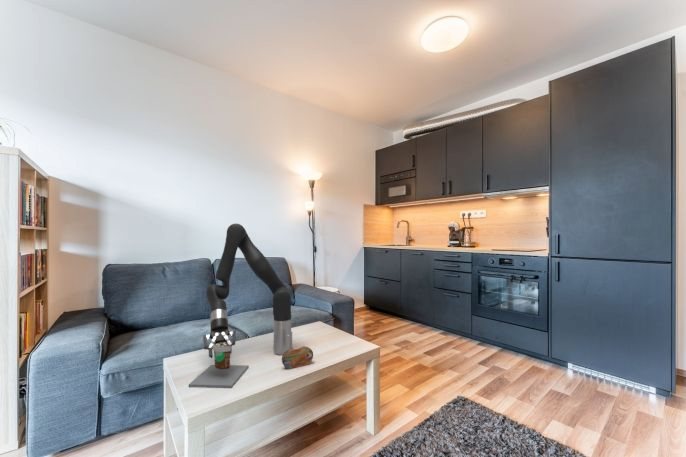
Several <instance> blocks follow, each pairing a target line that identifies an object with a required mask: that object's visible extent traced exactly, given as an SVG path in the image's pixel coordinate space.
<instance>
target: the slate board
mask: <svg viewBox="0 0 686 457" xmlns="http://www.w3.org/2000/svg"><path fill="white" fill-rule="evenodd" d="M248 369H249V365H247V364H243V365H241V364H237V365H236V364H230V368H228V369H217V368H216V367H215V364H210V365H209V366H208V367H207V368H206V369H205V370H203V372H201V373H200V374H199V375H197V376H196V378H194V379H193V380H192V381H191V382H190V383H188V388H210V389H211V388H213V389H214V388H215V389H217V388H218V389H220V388H221V389H232V388H233V387H234V386H235V385H236V384H237V382H238V381H239V380H240V379H241V377H242V376H243V375H244V374H245V373H246V372H247V370H248Z"/></svg>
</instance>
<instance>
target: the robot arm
mask: <svg viewBox="0 0 686 457" xmlns="http://www.w3.org/2000/svg"><path fill="white" fill-rule="evenodd" d="M225 235H226V238H225V243H224V247H223V252H222V255H221V258H220V261H219V264H218V266H217V270H216V273H215V280H218V281H221V284H222V285H221V284H216V283H215V284H214V283H213V284H210V285H208V287H207V288H206V292H205V293H206V297H207V300H208V303H209V306H210V319H209V320H210V321H209V322H210V333H209V334H203V335H202V342H203V348H204V349H203V350H208V357H209V358H210V359H213V358H214V357H213V356H214V354H213V353H214V350H213V349H212V347H213V344H214V342H216V343H218V342H224V341H225V342H227V344H228V345H229V346H231V351H230V355H231V354H232V351H233V350H232V349H233V348H232V346H235V345H236V340H237V333H236V332H237V331H236V330H233V331H230V330H229V321H228V319H229V316H228V311H227V303H226V301H225V300H226V299H227V298H228V296H229V294H230V280H231V276H232V272H233V269H234V265H235V261H236V260H235V259H236V255H237V251H238V249H239V251H240V252H241V253H242V255H243V257H244V259H245V261H246V264H248V266H249V268H250V269H251V271H252V272H253V273H254V275H255V276H256V277H257V278H258V279H259V280H260V281H261V282H263V283H264V284H265V285H266V286H267V287H268V288H269V291H271V293H272V295H273V296H272V315H273V354H275V355H279V356H280V355H281V356H283V354H284V352H285V351H287V350H289V349H293V331H292V296H293V295H292V292H291V291H290V288H288V287H287V286H286V285H285V284H284V282H283V281H282V280H281V279H280V278H279V276H278V275H277V273H276V271H275V270H274V268H273V267H272V265H271V264H270V261H269V260H268V259H267V258H266V256H265V255H264V254H263V253H262V252H261V250H260V249H258V247H256V245H255V244H254V243H253V241H252V240H251V238H250V237H249V235H248V233H247V230H246V229H245V227H244V226H243V225H241V224H240V223H232V224H230V225H229V226H228V227H227V229H226V234H225ZM229 336H231V338H232V341H230V338H229ZM209 339H211V341H210V343H209V344H208V340H209Z"/></svg>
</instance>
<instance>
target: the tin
mask: <svg viewBox="0 0 686 457" xmlns="http://www.w3.org/2000/svg"><path fill="white" fill-rule="evenodd" d="M281 356H282V357H281V364H282V365H283V367H284V368H286V369H287V370H291V369H296V368H300V367H304V366H308V365H309V364H310V363H311V362H312V361H313V358H314V352H313V350H312V349H311V348H310V347H309V346H305V345H304V346H303V345H302V346H299V347H294V348H292V349H289V350H287V351H285V352H284V354H283V355H281Z"/></svg>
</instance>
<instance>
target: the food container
mask: <svg viewBox="0 0 686 457" xmlns="http://www.w3.org/2000/svg"><path fill="white" fill-rule="evenodd" d="M231 347H232V346H229V345H228V344H227V342H225V341H224V342H218V343H216V342H214V344H213V347H212V351H213V353H214V354H213V356H214V357H213V358H214V365H215V367H216V368H217V369H228V368H230V365H231V354H230V351H231Z"/></svg>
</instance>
